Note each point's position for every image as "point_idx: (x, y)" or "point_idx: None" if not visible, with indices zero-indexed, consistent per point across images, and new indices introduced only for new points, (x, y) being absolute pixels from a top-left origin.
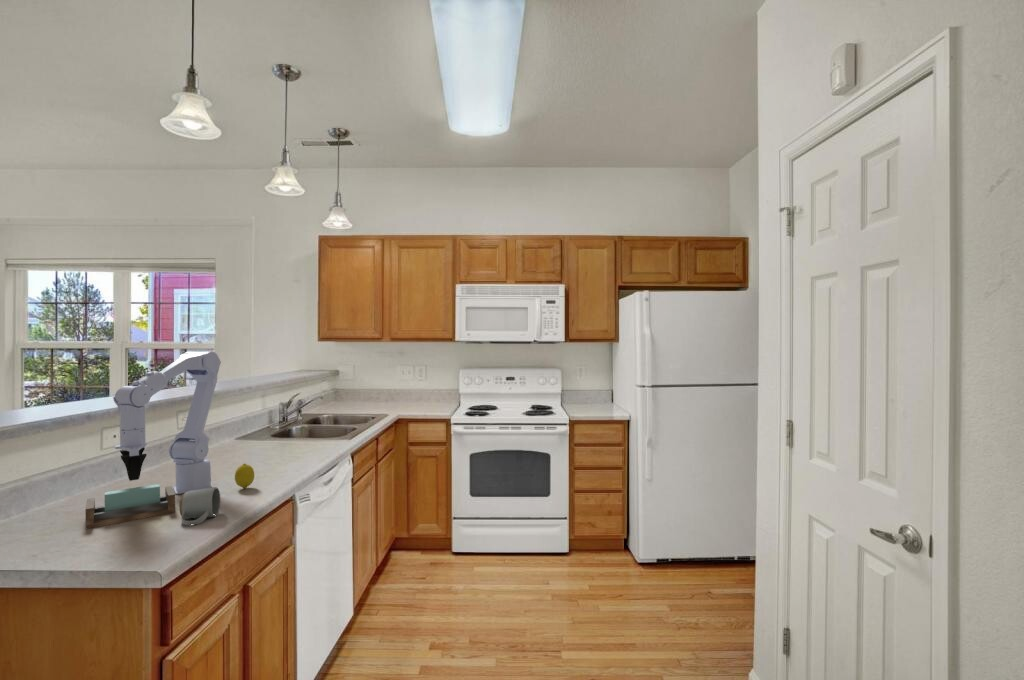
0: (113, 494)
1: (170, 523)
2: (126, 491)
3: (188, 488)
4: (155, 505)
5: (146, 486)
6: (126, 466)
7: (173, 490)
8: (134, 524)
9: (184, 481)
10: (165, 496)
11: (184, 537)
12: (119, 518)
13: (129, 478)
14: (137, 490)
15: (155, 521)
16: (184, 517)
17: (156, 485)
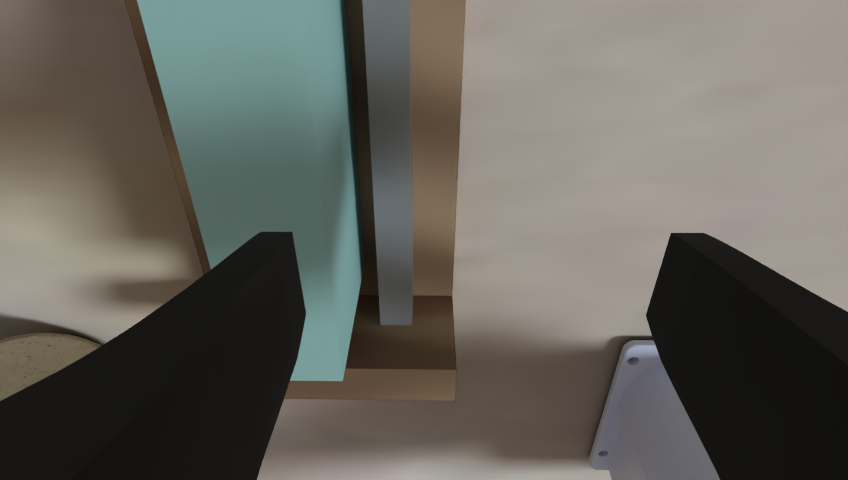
0: (143, 4)
1: (9, 272)
2: (181, 144)
3: (626, 407)
4: None
5: (308, 304)
6: (49, 384)
7: (303, 398)
8: (59, 103)
9: (656, 436)
10: (394, 323)
11: None
12: (139, 15)
13: (239, 249)
14: (205, 233)
15: (81, 213)
16: None
17: (296, 364)
